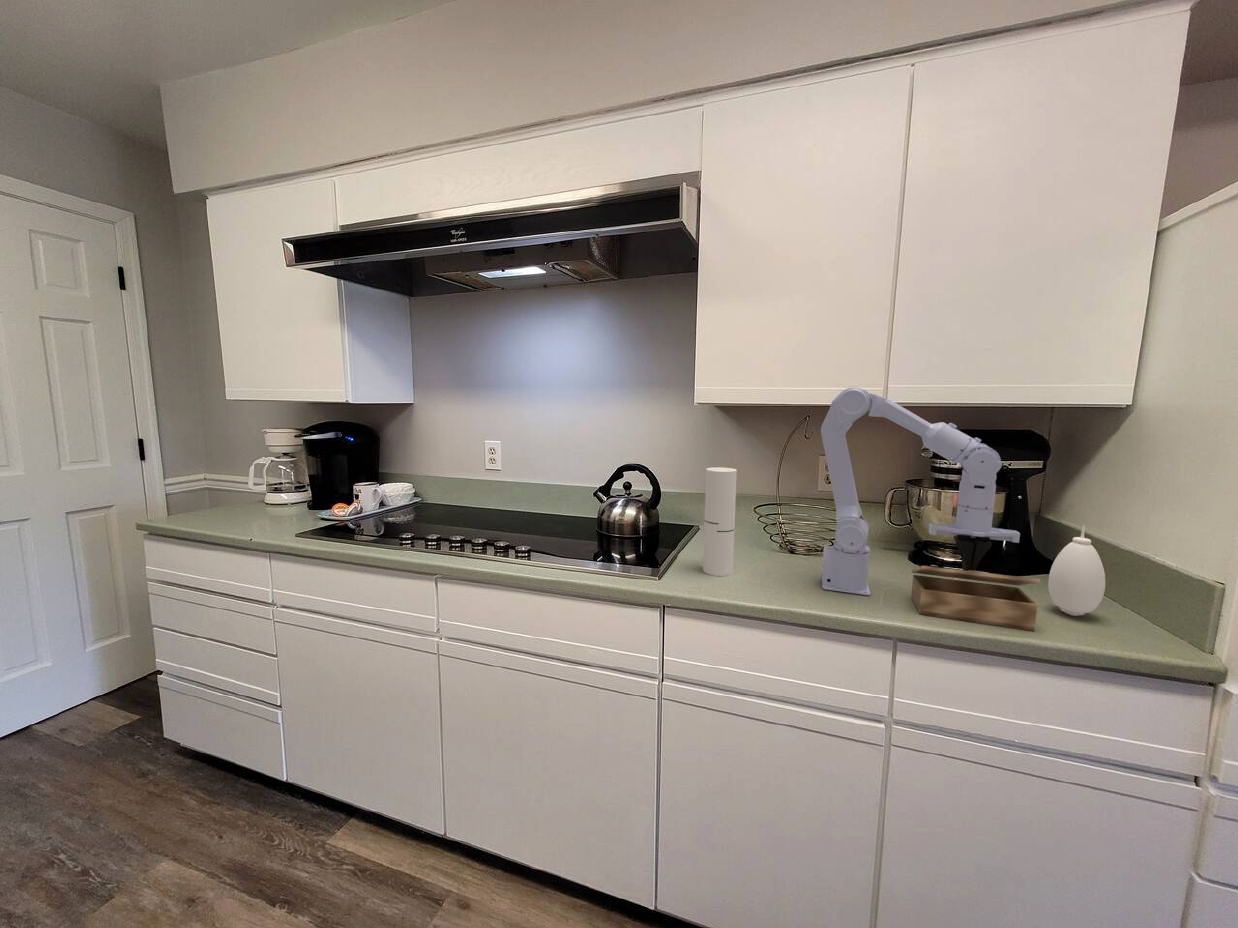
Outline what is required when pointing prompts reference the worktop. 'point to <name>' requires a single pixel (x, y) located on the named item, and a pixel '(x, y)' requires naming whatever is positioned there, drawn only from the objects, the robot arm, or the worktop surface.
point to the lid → (975, 575)
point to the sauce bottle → (1077, 577)
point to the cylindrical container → (719, 521)
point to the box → (974, 602)
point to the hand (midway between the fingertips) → (968, 572)
